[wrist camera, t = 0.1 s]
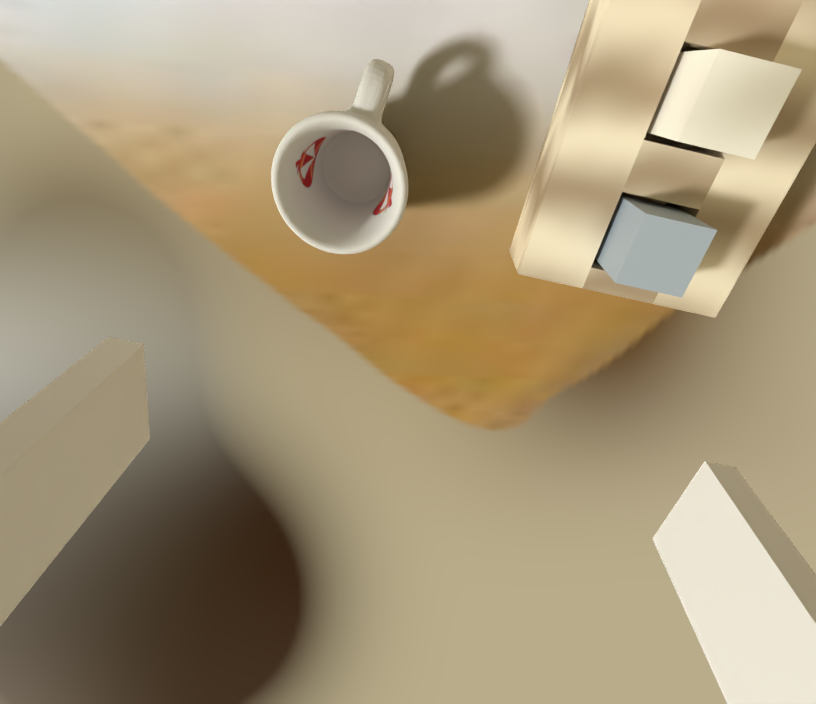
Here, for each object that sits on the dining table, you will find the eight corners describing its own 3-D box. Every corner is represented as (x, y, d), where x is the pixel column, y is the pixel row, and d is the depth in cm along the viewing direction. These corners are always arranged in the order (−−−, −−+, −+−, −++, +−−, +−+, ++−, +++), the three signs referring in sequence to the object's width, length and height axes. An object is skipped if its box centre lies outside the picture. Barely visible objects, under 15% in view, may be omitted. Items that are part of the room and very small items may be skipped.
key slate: (619, 195, 32) (645, 213, 28) (681, 209, 32) (717, 230, 28) (593, 256, 34) (615, 282, 30) (652, 270, 34) (681, 297, 30)
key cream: (677, 52, 28) (719, 48, 24) (748, 69, 28) (802, 69, 24) (645, 131, 30) (678, 141, 26) (711, 147, 30) (754, 159, 26)
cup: (333, 36, 32) (302, 26, 25) (448, 87, 33) (450, 92, 26) (291, 197, 37) (256, 226, 30) (391, 237, 38) (380, 274, 31)
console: (648, -184, 26) (690, -236, 22) (896, -117, 27) (985, -153, 22) (509, 250, 38) (518, 274, 33) (684, 289, 38) (715, 317, 34)
